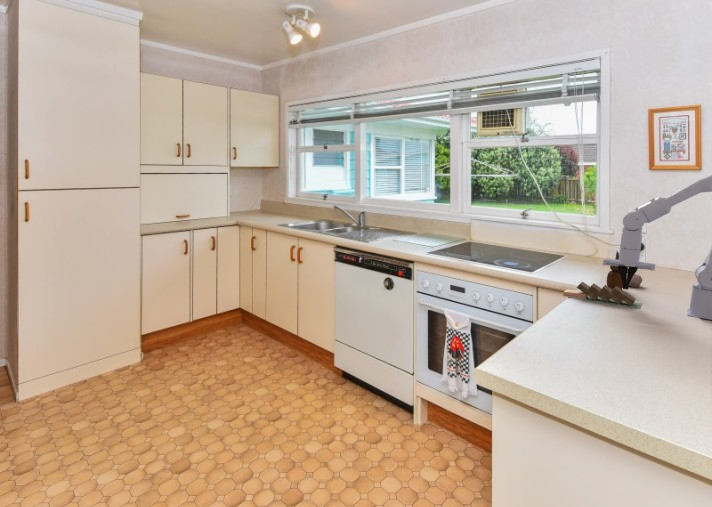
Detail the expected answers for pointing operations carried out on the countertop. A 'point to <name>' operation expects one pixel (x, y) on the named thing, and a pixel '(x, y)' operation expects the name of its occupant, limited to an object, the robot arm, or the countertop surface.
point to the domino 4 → (623, 295)
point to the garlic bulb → (635, 280)
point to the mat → (611, 302)
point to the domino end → (575, 294)
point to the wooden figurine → (614, 276)
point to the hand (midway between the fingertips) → (625, 288)
